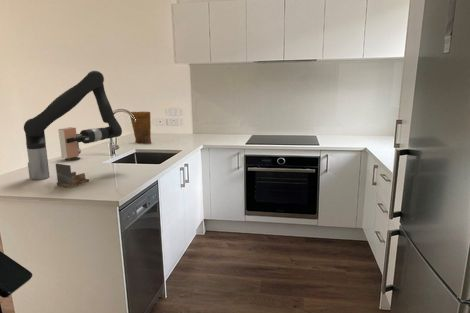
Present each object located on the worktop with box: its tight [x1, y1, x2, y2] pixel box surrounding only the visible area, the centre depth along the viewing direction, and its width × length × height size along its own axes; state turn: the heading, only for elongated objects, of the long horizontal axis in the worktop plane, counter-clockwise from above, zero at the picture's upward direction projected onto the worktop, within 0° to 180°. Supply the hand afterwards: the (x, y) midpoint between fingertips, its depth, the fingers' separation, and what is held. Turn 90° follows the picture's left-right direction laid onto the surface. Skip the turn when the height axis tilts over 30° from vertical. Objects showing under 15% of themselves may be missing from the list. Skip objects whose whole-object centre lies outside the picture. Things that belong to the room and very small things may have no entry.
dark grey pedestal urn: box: [64, 142, 82, 162], centre depth 234 cm, size 12×12×18 cm
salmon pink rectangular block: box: [58, 127, 80, 159], centre depth 174 cm, size 7×4×15 cm, turn 154°
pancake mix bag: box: [129, 111, 152, 145], centre depth 294 cm, size 7×19×28 cm, turn 72°
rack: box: [55, 163, 90, 189], centre depth 178 cm, size 12×10×12 cm
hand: (63, 140), depth 172 cm, fingers closed on salmon pink rectangular block, 4 cm apart
